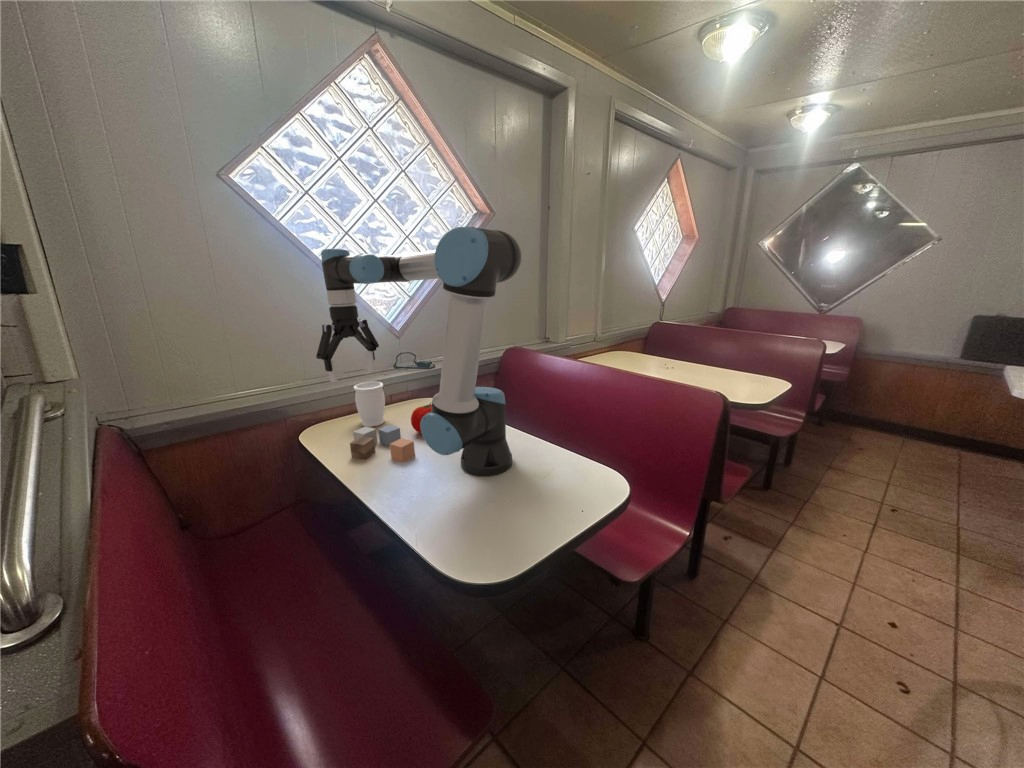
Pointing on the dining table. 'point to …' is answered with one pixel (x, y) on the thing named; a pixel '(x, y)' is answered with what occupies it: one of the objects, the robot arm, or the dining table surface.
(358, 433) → the grey cube
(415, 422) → the tomato
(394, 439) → the slate cube
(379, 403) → the jar
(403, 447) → the terracotta cube
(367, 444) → the walnut cube
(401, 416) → the dining table surface
